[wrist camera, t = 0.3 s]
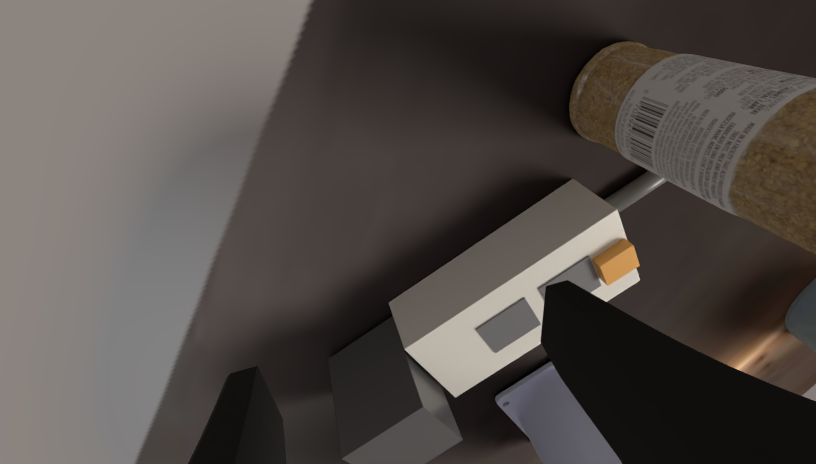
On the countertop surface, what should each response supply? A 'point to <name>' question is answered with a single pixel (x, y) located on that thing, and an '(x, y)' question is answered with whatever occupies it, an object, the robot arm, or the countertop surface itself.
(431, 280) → the power strip
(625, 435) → the robot arm
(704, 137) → the sprinkles bottle
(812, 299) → the teal cup
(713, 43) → the countertop surface
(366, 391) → the charger
